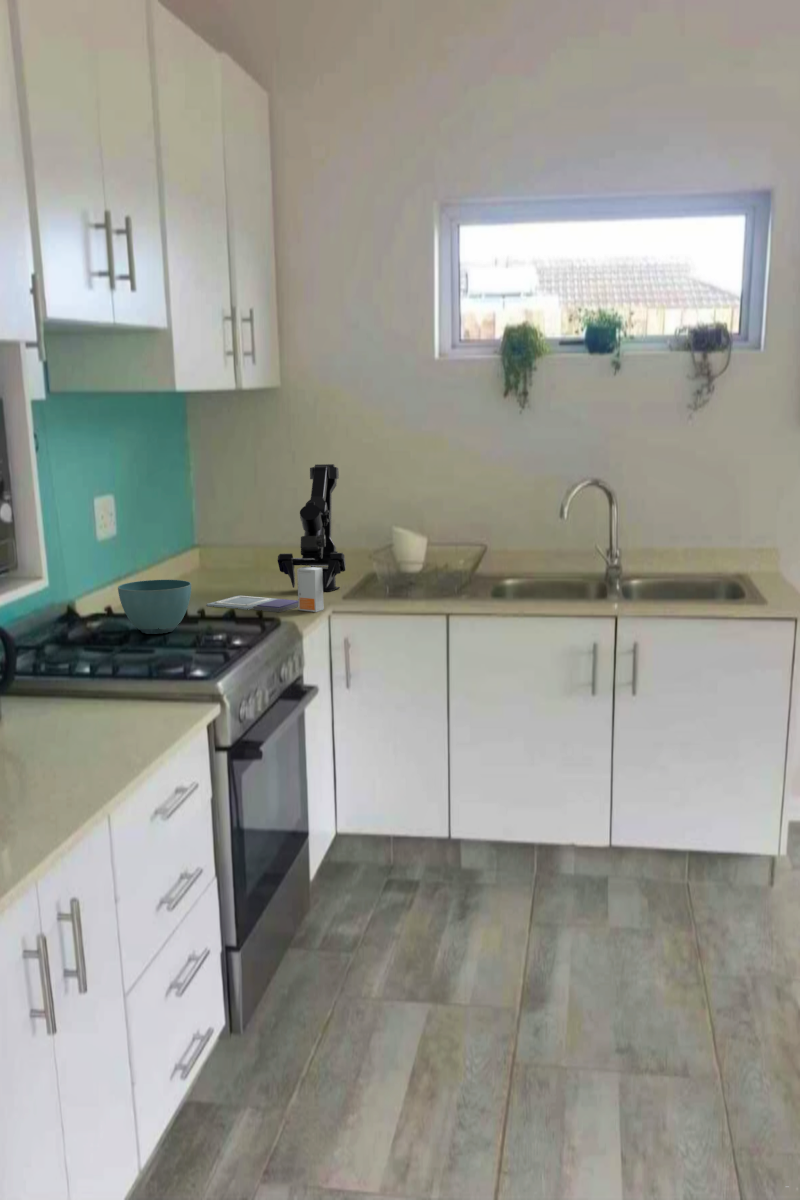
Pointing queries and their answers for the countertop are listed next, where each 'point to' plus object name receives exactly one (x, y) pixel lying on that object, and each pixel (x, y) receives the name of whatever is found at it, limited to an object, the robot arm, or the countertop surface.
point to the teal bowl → (155, 602)
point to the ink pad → (277, 605)
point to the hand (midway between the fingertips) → (309, 586)
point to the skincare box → (310, 589)
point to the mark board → (241, 602)
